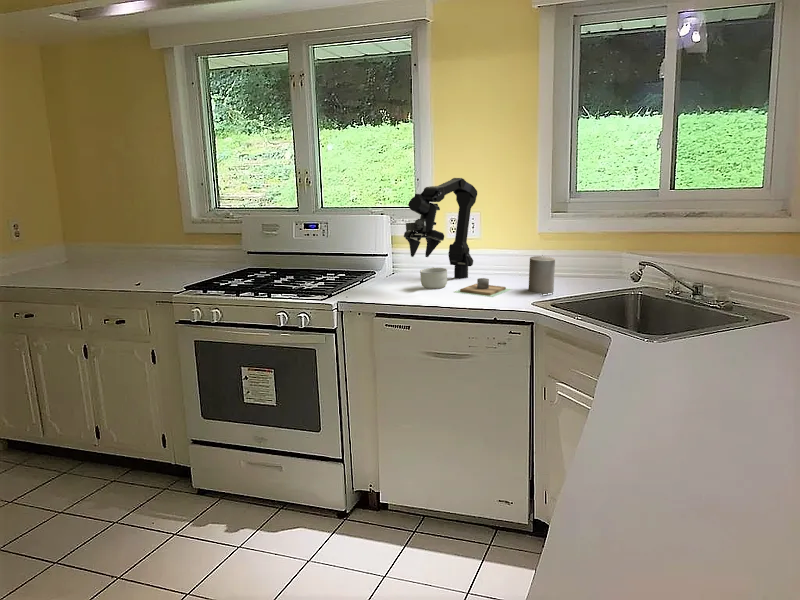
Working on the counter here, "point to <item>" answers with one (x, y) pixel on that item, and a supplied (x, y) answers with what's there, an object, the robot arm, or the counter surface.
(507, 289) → the sage mat
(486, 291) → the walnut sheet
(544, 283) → the pillar candle
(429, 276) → the teacup
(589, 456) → the counter surface
